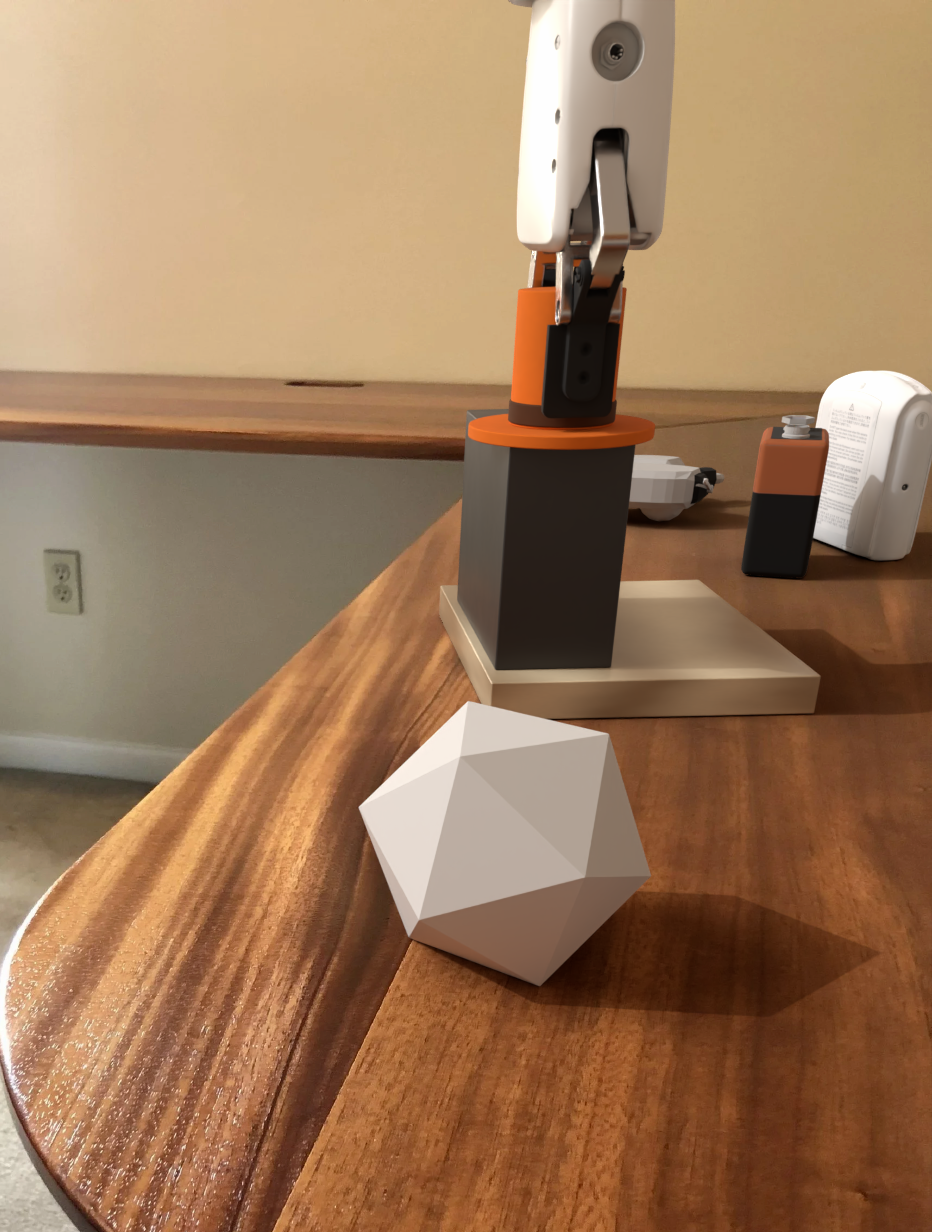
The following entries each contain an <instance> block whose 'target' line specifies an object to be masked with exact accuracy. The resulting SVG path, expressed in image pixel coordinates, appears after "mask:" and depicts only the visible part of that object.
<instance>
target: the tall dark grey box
mask: <svg viewBox="0 0 932 1232" xmlns="http://www.w3.org/2000/svg"><path fill="white" fill-rule="evenodd" d="M508 412H509V408H494V409H493V408H492V409H490V408H489V409H487V408H486V409H467V410H466V419H465V435H464V436H465V439H464V456H463V478H462V497H461V515H460V517H461V518H460V533H459V534H460V535H459V551H458V552H459V555H458V574H457V585H458V591H457V601H458V603H459V605H460V607H461V608H462V610H463V612H464V614H465V616H466V617H467V619H468V621H469V623H470V625H471V627H472V628H473V630H474V632H475V634H476V636H477V637H478V639H479V641H480V643H481V645H482V647H483V648H484V650H485V652H486V654H487V656H488V658H489V659H490V661H491V663H492V665H493V667H494V668H495V670H521V669H567V668H610V667H611V664H612V655H613V646H614V637H615V627H616V618H617V609H618V600H619V591H620V582H621V581H622V574H623V573H622V571H623V565H624V564H623V563H624V554H625V544H626V535H627V528H628V527H627V526H628V518H629V517H628V516H629V509H630V508H629V500H630V491H631V482H632V473H633V464H634V455H636V454H635V453H636V445H637V444H636V445H631V446H624V447H615V448H603V449H581V450H549V449H526V448H514V447H504V446H496V445H490V444H485V443H481V442H477V441H475V440H472V439H471V438H469V436H468V426H469V423H470V422H471V421H473V420H475V419H478V418H482V417H487V416H493V415H501V414H508Z"/></svg>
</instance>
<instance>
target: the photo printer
mask: <svg viewBox="0 0 932 1232" xmlns="http://www.w3.org/2000/svg"><path fill="white" fill-rule="evenodd" d="M814 428H822V429H826V430H827V431H828V433H829V451H828V457H827V462H826V468H825V474H824V479H823V485H822V491H821V496H820V502H819V508H818V513H817V519H816V524H815V530H814V536H813V539H815V540H818V541H819V542H823V543H826V544H828V545H829V546H830V545H831V546H833V547H835V548H838V549H841V550H843V551H846V552H848V553H851V554H854V555H857V556H860V557H864V558H866V559H868V560H871V561H877V562H879V561H881V562H885V561H897V560H902V559H903V558H905V556H906V555H909V554H910V552H911V550H912V547H913V544H914V541H915V537H916V532H917V529H918V524H919V519H920V515H921V511H922V507H923V502H924V497H925V494H926V493H925V492H926V489H927V483H928V481H929V475H930V470H931V466H932V390H931V389H930V388H928V387H927V386H926V385H924V384H923V383H922V382H920V381H918V380H917V379H915V378H913V377H912V376H909V375H908V374H904V373H901V372H898V371H897V372H896V371H893V370H862V371H861V370H860V371H856V372H855V371H854V372H851V373H849V374H845V375H843V376H841V377H839V378H837V379H835V380H834V381H833V382H832V383H831V384H829V386H828V387H827V388H826V390H825V391H824V393H823V395H822V397H821V399H820V402H819V406H818V412H817V417H816V421H815V427H814Z"/></svg>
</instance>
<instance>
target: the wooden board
mask: <svg viewBox="0 0 932 1232" xmlns="http://www.w3.org/2000/svg"><path fill="white" fill-rule="evenodd" d="M457 591H458V584H449V585H448V584H444V585H442V584H441V585H440V587H439V606H438V616H439V615H440V616H439V618H441V619H440V621H441V620H442V621H441V623H442V622H443V623H442V625H443V627H444V629H445V631H446V633H447V635H448V638H449V639H450V642H451V643H452V645H453V648H454V649H455V652H456V655H457V656H458V658H459V661H460V662H461V664H462V666H463V668H464V671H465V673H466V675H467V676H468V677H467V678H469V681H470V683H471V685H472V687H473V689H474V692H475V693H476V695H477V698H478V700H479V701H480V704H483V705H488V706H492V707H496V708H500V709H505V710H509V711H513V712H518V713H522V714H526V715H530V716H535V717H539V718H543V719H548V720H559V719H560V720H565V719H566V720H567V719H568V720H570V719H612V718H613V719H614V718H615V719H617V718H660V717H661V718H662V717H666V718H667V717H709V716H752V715H753V716H756V715H760V716H761V715H799V714H801V715H804V714H806V715H807V714H808V715H809V714H814V713H815V709H816V704H817V700H818V694H819V688H820V683H821V678H822V676H821V675H820V674H819V673H818V672H816V671H815V670H814V669H813V668H811V667H810V666H809V665H807V663H805V662H804V661H803V660H801V659H800V658H798V657H797V656H796V655H794V654H793V652H791V651H790V650H788V649H787V647H785V646H783V645H782V644H781V643H779V642H778V641H777V640H776V639H774V638H773V637H772V636H771V635H770V634H768V633H767V632H766V631H765V630H763V629H762V628H761V627H759V626H758V625H757V624H756V623H754V622H753V621H752V620H750V619H749V618H748V617H746V615H744V613H742V612H741V611H739V610H738V609H737V608H735V607H734V606H733V605H731V604H730V603H729V602H727V600H725V599H724V598H722V597H721V596H720V595H719V594H718V593H717V592H715V590H713V589H711V588H710V587H708V586H707V585H706V584H705V583H703V582H702V581H701V580H700V579H675V580H674V579H672V580H671V579H670V580H669V579H667V580H664V579H663V580H627V581H626V580H625V581H624V580H623V581H622V580H621V582H620V591H619V600H618V609H617V618H616V627H615V637H614V646H613V655H612V664H611V667H610V668H567V669H521V670H495V668H494V667H493V665H492V663H491V661H490V659H489V658H488V656H487V654H486V652H485V650H484V648H483V647H482V645H481V643H480V641H479V639H478V637H477V636H476V634H475V632H474V630H473V628H472V627H471V625H470V623H469V621H468V619H467V617H466V616H465V614H464V612H463V610H462V608H461V607H460V605H459V603H458V601H457Z"/></svg>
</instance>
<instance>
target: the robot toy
mask: <svg viewBox="0 0 932 1232" xmlns="http://www.w3.org/2000/svg"><path fill="white" fill-rule="evenodd" d="M724 481H725V474H723V473H718V472H717V470H716V469H715V468H714V467H709V466H703V467H697V466H690V465H686V464H685V463H684V461H683V460H682V458H681V457H679V456H673V455H657V454H655V455H654V454H635V455H634V464H633V473H632V482H631V491H630V500H629V509H630V508H631V509H640V511H641V513H642V514H643V515H644V516H645V517H646V518H648V519H649V520H651V521H655V522H666V521H671V520H673V519H675V518H677V517H678V516H679V515H680V514H681V513H682V512H683V510H687V509H689V508H691V507H692V506H694V505H695V504H697V503H700V502H701V501H702V500H704V499H705V497H707V496H708V495H709V494H714V493H713V492H714V488H715V485H718V484H721V483H723V482H724Z"/></svg>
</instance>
